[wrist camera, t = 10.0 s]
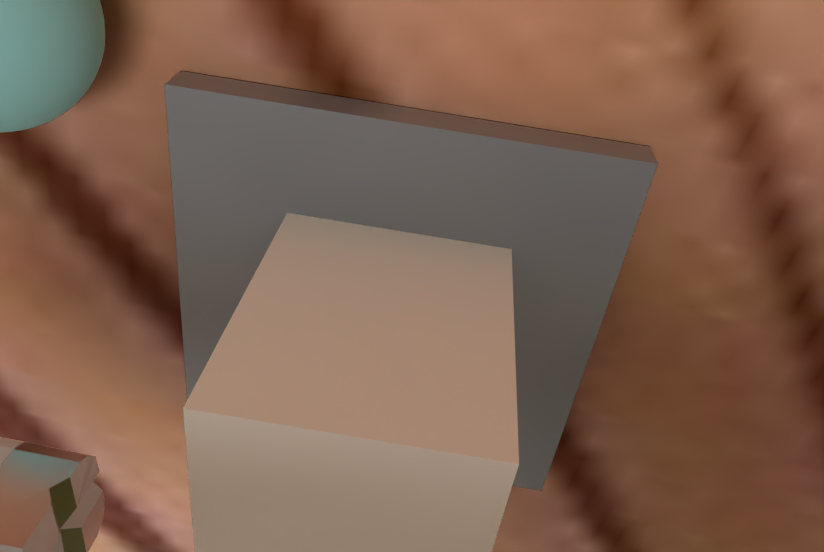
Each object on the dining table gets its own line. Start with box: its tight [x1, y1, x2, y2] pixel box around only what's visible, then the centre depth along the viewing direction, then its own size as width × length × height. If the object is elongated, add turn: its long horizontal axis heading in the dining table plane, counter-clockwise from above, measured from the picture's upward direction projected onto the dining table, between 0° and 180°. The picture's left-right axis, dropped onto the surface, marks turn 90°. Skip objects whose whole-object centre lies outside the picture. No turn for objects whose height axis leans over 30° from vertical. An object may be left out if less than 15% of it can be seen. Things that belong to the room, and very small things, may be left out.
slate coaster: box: [164, 71, 658, 491], centre depth 15 cm, size 9×9×1 cm
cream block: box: [183, 213, 519, 552], centre depth 13 cm, size 4×4×6 cm
